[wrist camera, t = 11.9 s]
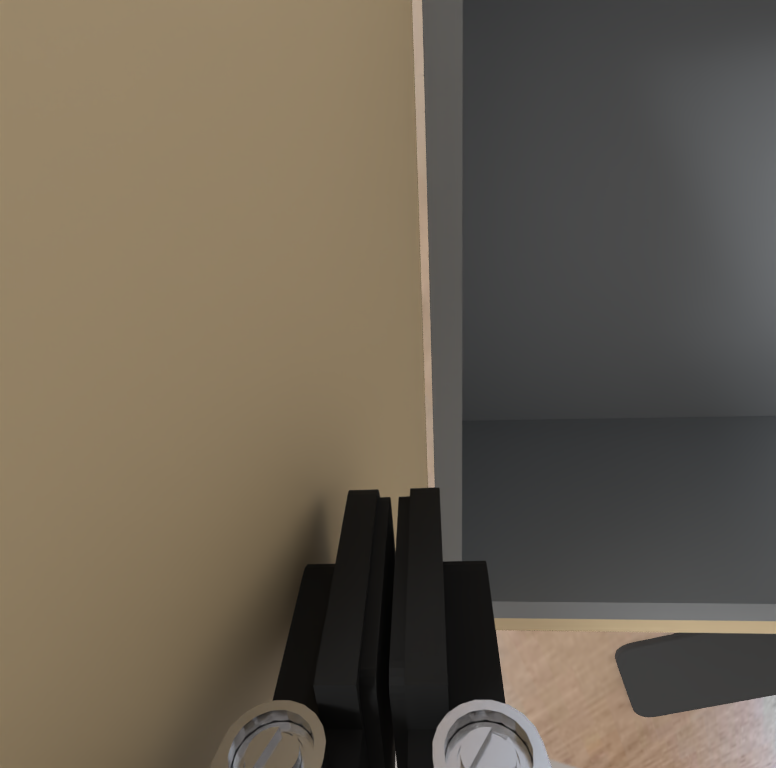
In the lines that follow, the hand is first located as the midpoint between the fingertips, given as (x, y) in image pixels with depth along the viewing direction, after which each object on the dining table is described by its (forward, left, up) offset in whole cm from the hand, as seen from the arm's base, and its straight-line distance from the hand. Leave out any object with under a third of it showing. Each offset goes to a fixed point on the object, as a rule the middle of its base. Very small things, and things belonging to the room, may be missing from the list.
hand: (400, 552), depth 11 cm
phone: (+27, +20, -19) cm, 38 cm away
